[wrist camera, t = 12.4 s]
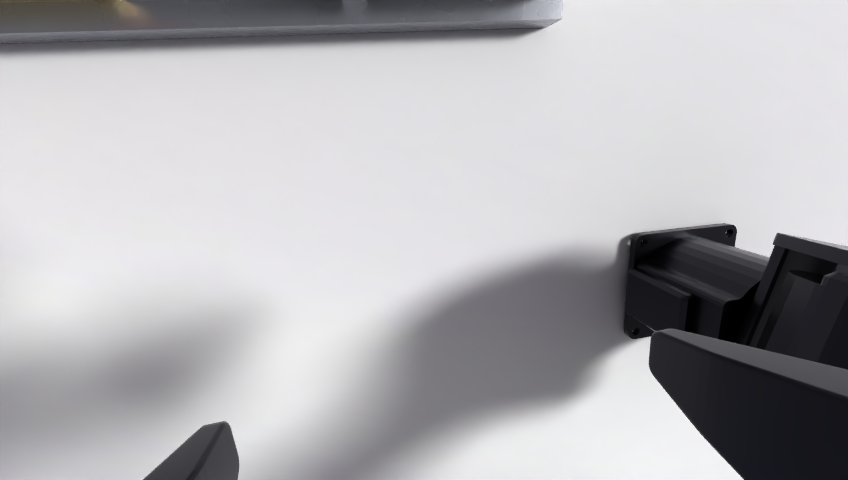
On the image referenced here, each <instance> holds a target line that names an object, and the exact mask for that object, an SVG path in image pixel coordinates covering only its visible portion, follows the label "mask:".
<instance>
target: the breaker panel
mask: <svg viewBox="0 0 848 480" xmlns="http://www.w3.org/2000/svg"><path fill="white" fill-rule="evenodd" d="M561 19H562V0H0V44H2V43H35V42H69V41H103V40H137V39H171V38H205V37H239V36H272V35H306V34H340V33H374V32H408V31H442V30H475V29H509V28H543V27H548V26H550V25H552V24H553V23H555V22H557V21H559V20H561Z"/></svg>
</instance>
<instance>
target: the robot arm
mask: <svg viewBox="0 0 848 480" xmlns="http://www.w3.org/2000/svg"><path fill="white" fill-rule="evenodd" d="M726 231H727V232H726ZM725 233H726V234H725ZM736 234H737V229H736V227H735V226H734V225H731V224H726V223H723V224H714V225H705V226H696V227H687V228H678V229H669V230H661V231H652V232H643V233H638V234H636V235H634V236H633V238H632V240H631V247H630V259H629V272H628V281H627V294H626V306H625V322H624V332H625V334H626V335H627V336H629V337H630V338H632V339H637V338H644V337H650V336H651V342H650V354H649V368H650V370H651V372H652V374H653V376H654V377H655V378H656V379H657V381H658V382H659V383H660V384H661V386H662V387H663V388H664V389H665V391H666V392H667V393H668V394H669V396H670V397H671V398H672V399H673V400H674V402H675V403H676V404H677V405H678V407H679V408H680V409H681V410H682V412H683V413H684V414H685V415H686V417H687V418H688V419H689V420H690V422H691V423H692V424H693V425H694V426H695V428H696V429H697V430H698V431H699V432H700V434H701V435H702V436H703V437H704V438H705V439H706V440H707V441H708V442H709V443H710V444H711V446H712V447H713V448H714V449H715V450H716V451H717V452H718V453H719V454H720V455H721V456H722V457H723V458H724V459H725V460H726V461H727V462H728V463H729V464H730V465H731V467H732V468H733V469H734V470H735V471H736V472H737V473H738V474H739V475H740V476H741V477H742V478H743V479H744V480H848V247H847V246H842V245H837V244H832V243H827V242H822V241H817V240H812V239H807V238H801V237H796V236H791V235H786V234H781V233H777V234H776V237H775V239H774V242H773V245H775V246H774V249H773V251H772V254H771V256H770V258H769V257H766V256H762V255H759V254H756V253H752V252H749V251H746V250H742V249H739V248H736V247H735V240H736ZM642 239H643V242H642V244H641V245H640V241H641V240H642ZM634 328H635V330H634V331H633V332H632V330H633V329H634ZM238 473H239V457H238V453H237V449H236V445H235V442H234V438H233V435H232V431H231V428H230V425H229V424H228V423H227V422H225V421H222V422H218V423H213V424H208V425H204V426H202V427H201V428H200V429H199V430H198V431H196V432H195V433H194V434H193V435H192V436H191V437H190V438H189V439H188V440H186V441H185V442H184V443H183V444H182V445H181V446H180V447H179V448H178V449H176V450H175V451H174V452H173V453H172V454H171V455H170V456H169V457H168V458H167V459H165V460H164V461H163V462H162V463H161V464H160V465H159V466H158V467H157V468H155V469H154V470H153V471H152V472H151V473H150V474H149V475H148V476H147V477H145V478H144V479H143V480H238Z"/></svg>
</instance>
